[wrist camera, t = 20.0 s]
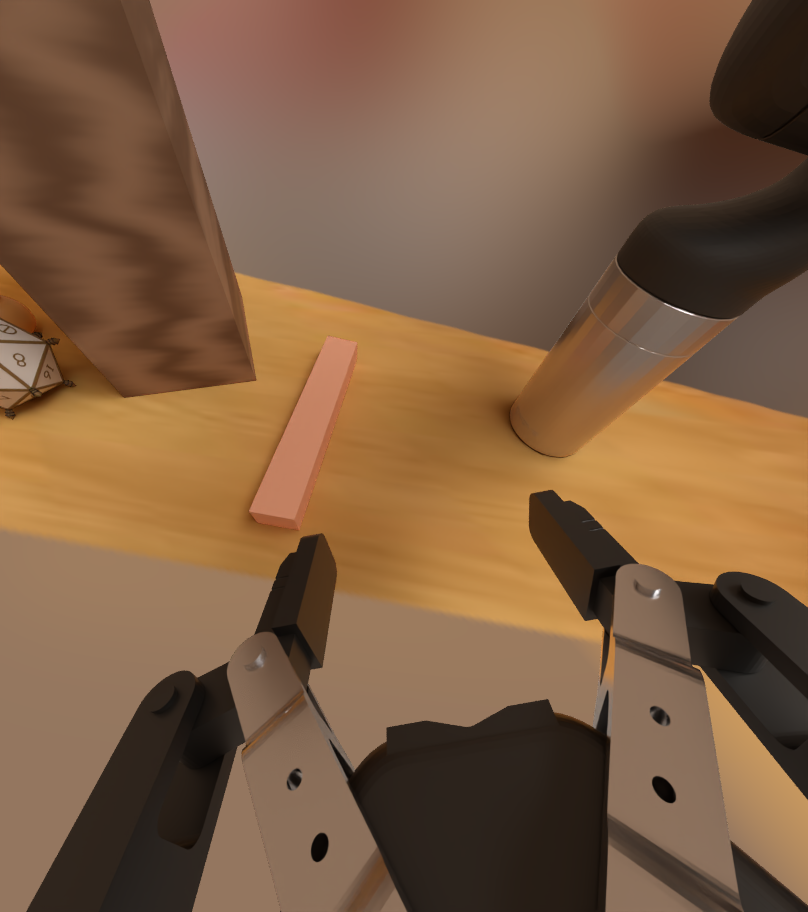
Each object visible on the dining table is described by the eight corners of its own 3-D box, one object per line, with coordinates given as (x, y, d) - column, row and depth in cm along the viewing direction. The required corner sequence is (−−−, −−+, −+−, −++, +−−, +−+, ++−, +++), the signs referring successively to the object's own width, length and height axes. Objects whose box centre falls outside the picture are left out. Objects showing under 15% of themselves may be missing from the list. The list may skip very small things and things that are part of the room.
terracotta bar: (356, 362, 37) (357, 342, 35) (299, 531, 25) (294, 519, 23) (329, 356, 37) (327, 335, 35) (258, 524, 25) (248, 511, 23)
